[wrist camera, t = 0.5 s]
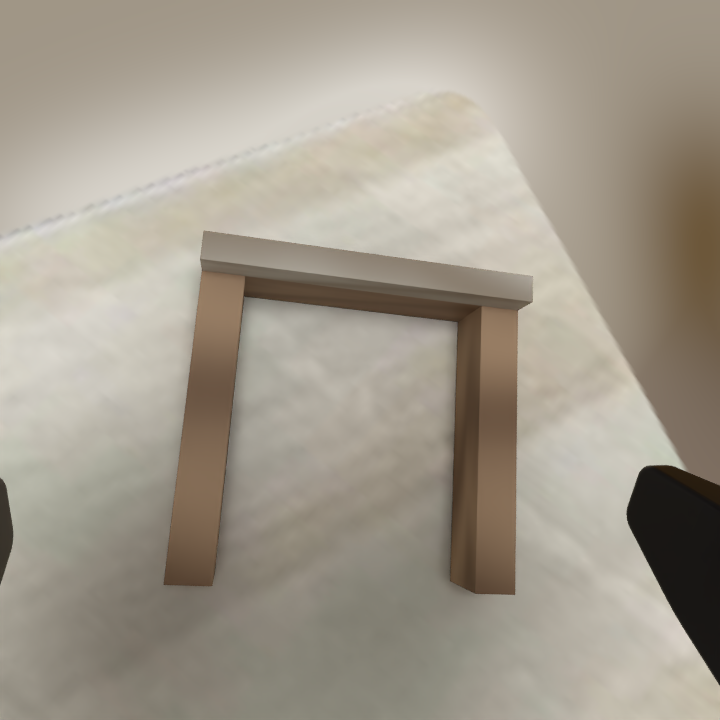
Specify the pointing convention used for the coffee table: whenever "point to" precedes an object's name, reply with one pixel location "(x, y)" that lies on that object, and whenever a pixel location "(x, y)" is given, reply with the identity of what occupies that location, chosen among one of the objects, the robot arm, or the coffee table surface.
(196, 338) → the frame
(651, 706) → the coffee table surface
